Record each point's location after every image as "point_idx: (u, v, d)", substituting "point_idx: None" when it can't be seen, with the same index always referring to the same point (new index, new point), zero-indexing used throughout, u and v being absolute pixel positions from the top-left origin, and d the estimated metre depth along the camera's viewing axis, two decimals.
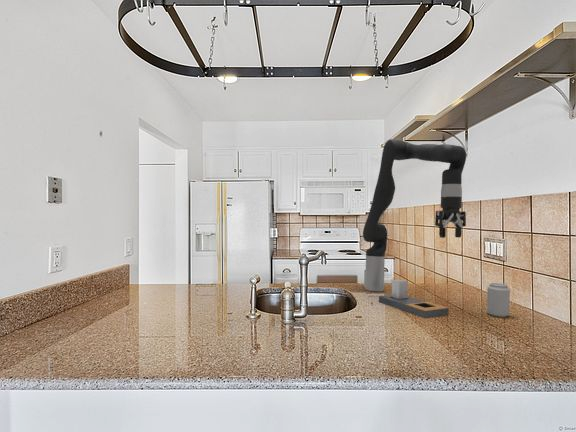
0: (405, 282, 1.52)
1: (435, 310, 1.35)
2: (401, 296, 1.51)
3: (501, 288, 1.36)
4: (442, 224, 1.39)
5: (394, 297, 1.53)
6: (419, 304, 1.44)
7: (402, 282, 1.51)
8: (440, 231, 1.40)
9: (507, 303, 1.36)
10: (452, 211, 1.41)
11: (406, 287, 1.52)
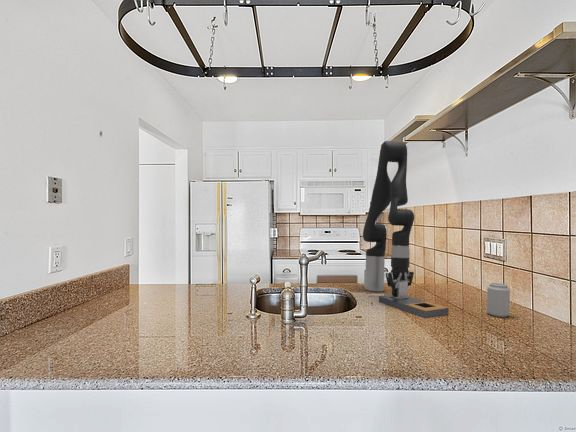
0: (405, 282, 1.52)
1: (435, 310, 1.35)
2: (401, 296, 1.51)
3: (501, 288, 1.36)
4: (393, 285, 1.51)
5: (394, 297, 1.53)
6: (419, 304, 1.44)
7: (402, 282, 1.51)
8: (392, 291, 1.52)
9: (507, 303, 1.36)
10: (400, 270, 1.53)
11: (406, 287, 1.52)
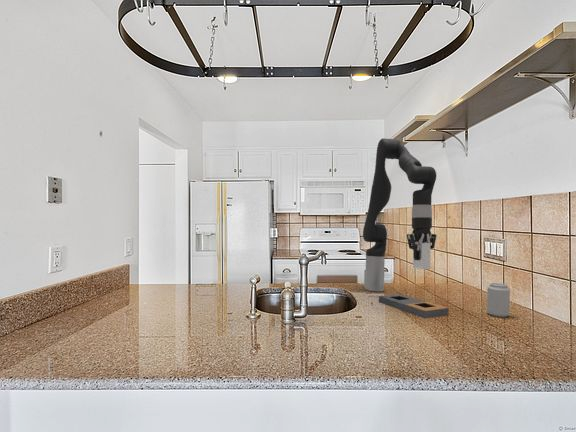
0: (428, 244, 1.41)
1: (435, 310, 1.35)
2: (424, 259, 1.40)
3: (501, 288, 1.36)
4: (415, 247, 1.41)
5: (416, 261, 1.42)
6: (419, 304, 1.44)
7: (425, 244, 1.41)
8: (414, 254, 1.41)
9: (507, 303, 1.36)
10: (423, 231, 1.42)
11: (429, 249, 1.41)
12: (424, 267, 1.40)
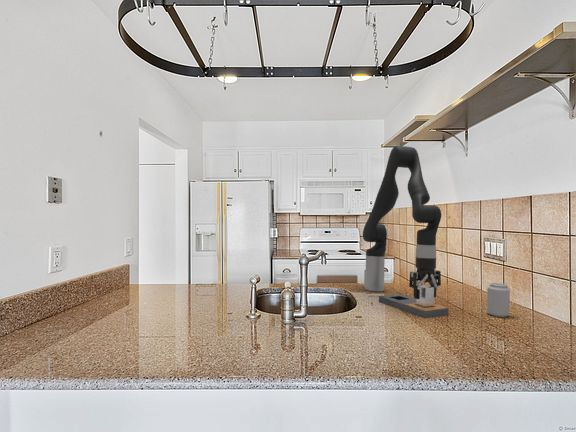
0: (431, 288, 1.40)
1: (435, 310, 1.35)
2: (427, 304, 1.39)
3: (501, 288, 1.36)
4: (416, 286, 1.38)
5: (419, 305, 1.41)
6: None
7: (428, 288, 1.39)
8: (414, 292, 1.39)
9: (507, 303, 1.36)
10: (426, 272, 1.40)
11: (432, 294, 1.40)
12: None
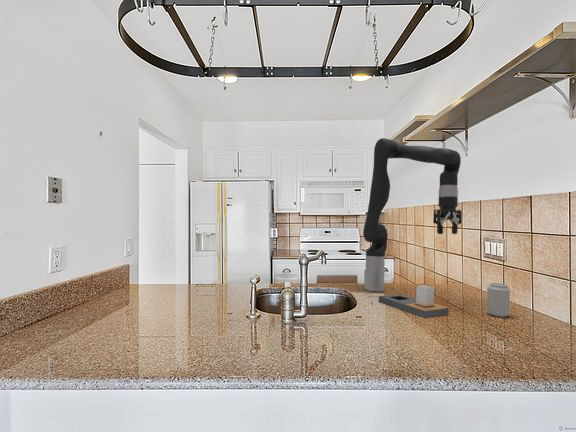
0: (431, 288, 1.40)
1: (435, 310, 1.35)
2: (427, 304, 1.39)
3: (501, 288, 1.36)
4: (440, 222, 1.52)
5: (419, 305, 1.41)
6: None
7: (428, 288, 1.39)
8: (438, 228, 1.53)
9: (507, 303, 1.36)
10: (449, 210, 1.54)
11: (432, 294, 1.40)
12: None
